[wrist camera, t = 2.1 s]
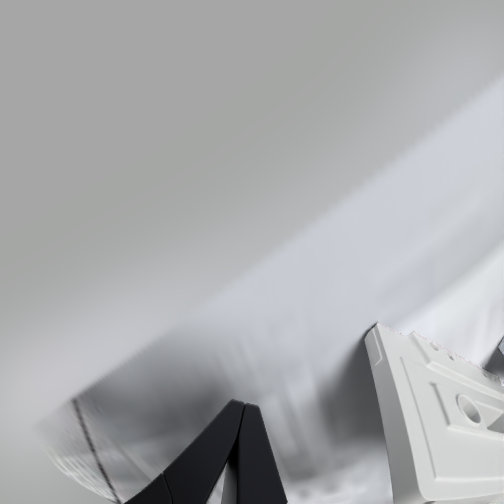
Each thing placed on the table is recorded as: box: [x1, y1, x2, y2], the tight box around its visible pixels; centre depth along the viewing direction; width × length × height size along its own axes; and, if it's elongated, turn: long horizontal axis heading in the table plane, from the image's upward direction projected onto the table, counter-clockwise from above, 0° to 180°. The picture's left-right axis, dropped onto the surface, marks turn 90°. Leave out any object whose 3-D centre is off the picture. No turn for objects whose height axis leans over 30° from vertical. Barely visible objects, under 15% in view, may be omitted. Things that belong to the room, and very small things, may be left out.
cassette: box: [364, 322, 504, 504], centre depth 8 cm, size 12×2×8 cm, turn 64°
